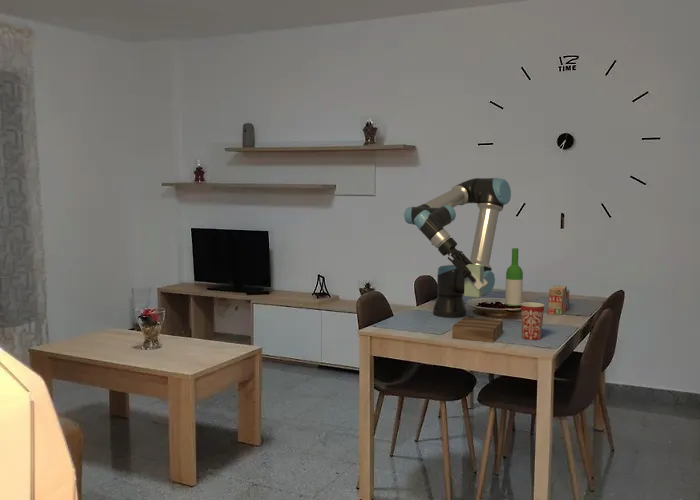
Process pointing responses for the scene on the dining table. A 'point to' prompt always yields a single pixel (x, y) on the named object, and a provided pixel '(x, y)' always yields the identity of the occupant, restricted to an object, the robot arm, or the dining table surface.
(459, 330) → the walnut riser
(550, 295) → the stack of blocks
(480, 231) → the robot arm
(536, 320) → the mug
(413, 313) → the dining table surface
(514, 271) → the wine bottle
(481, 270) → the green block
